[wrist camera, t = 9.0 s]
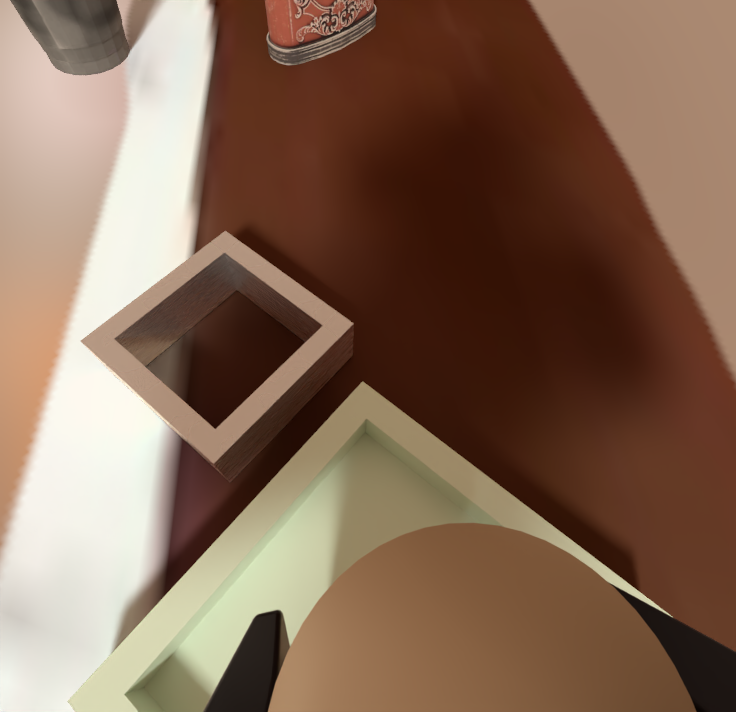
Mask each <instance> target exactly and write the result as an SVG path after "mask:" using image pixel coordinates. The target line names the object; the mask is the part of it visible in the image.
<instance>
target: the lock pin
mask: <svg viewBox="0 0 736 712" xmlns="http://www.w3.org/2000/svg"><path fill="white" fill-rule="evenodd" d="M268 712H696V709H695V707H694V704H693V702H692V699H691V697H690V695H689V693H688V691H687V689H686V687H685V685H684V683H683V681H682V679H681V677H680V675H679V673H678V671H677V669H676V667H675V665H674V664H673V662H672V661H671V659H670V657H669V656H668V654H667V653H666V651H665V650H664V648H663V646H662V645H661V643H660V642H659V640H658V638H657V637H656V635H655V634H654V633H653V632H652V630H651V629H650V628H649V626H648V625H647V624H646V623H645V621H644V620H643V619H642V617H641V616H640V615H639V614H638V612H637V611H636V610H635V609H634V608H633V607H632V606H631V605H630V604H629V602H628V601H627V600H626V599H625V598H624V597H623V596H622V595H621V594H620V593H619V592H618V591H617V590H616V589H615V588H614V587H613V586H612V585H611V584H610V583H608V582H607V581H606V580H605V579H604V578H603V577H601V576H600V575H599V574H598V573H597V572H596V571H594V570H593V569H592V568H590V567H589V566H587V565H586V564H585V563H583V562H582V561H580V560H579V559H577V558H576V557H574V556H573V555H571V554H570V553H568V552H566V551H564V550H563V549H561V548H559V547H557V546H555V545H553V544H551V543H549V542H547V541H545V540H543V539H540V538H538V537H535V536H532V535H530V534H527V533H525V532H522V531H518V530H514V529H510V528H506V527H502V526H498V525H489V524H480V523H449V524H443V525H437V526H431V527H425V528H422V529H419V530H416V531H413V532H410V533H406V534H403V535H401V536H399V537H397V538H395V539H392V540H390V541H388V542H386V543H384V544H382V545H380V546H378V547H377V548H375V549H374V550H372V551H371V552H369V553H368V554H366V555H365V556H363V557H362V558H360V559H359V560H358V561H356V562H355V563H354V564H353V565H352V566H351V567H350V568H348V569H347V570H346V571H345V572H344V573H343V574H342V575H340V576H339V577H338V578H337V579H336V581H335V582H334V583H333V584H332V585H331V586H330V587H329V588H328V590H327V591H326V592H325V593H324V594H323V595H322V596H321V598H320V599H319V600H318V602H317V603H316V604H315V606H314V607H313V609H312V610H311V612H310V613H309V615H308V616H307V618H306V619H305V621H304V622H303V623H302V625H301V627H300V629H299V631H298V633H297V635H296V637H295V639H294V641H293V642H292V644H291V646H290V648H289V650H288V652H287V655H286V657H285V660H284V662H283V665H282V668H281V670H280V673H279V675H278V678H277V680H276V683H275V687H274V690H273V694H272V698H271V701H270V705H269V709H268Z"/></svg>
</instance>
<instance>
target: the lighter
mask: <svg viewBox="0 0 736 712" xmlns="http://www.w3.org/2000/svg"><path fill="white" fill-rule="evenodd" d="M265 5H266V12H267V20H268V28H269V33H268V35H267V43H268V50H269V54H270V57H271V58H272V59H273V60H275V61H276V62H278V63H281V64H285V65H297V64H301V63H304V62H307V61H310V60H314V59H317V58H320V57H323V56H325V55H327V54H330V53H332V52H335V51H337V50H339V49H342V48H344V47H345V46H347V45H349V44H351V43H352V42H354V41H356V40H358V39H359V38H361V37H362V36H364V35H365V34H366V33H368V32H369V31H370V30H372V29H373V28H374V27H375V23H376V6H375V5H374V0H265Z"/></svg>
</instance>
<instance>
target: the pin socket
mask: <svg viewBox="0 0 736 712" xmlns="http://www.w3.org/2000/svg"><path fill="white" fill-rule="evenodd" d="M237 290H238V291H239V292H240V293H241V294H243V295H244V296H245V297H247V298H248V299H249V300H251V301H252V302H253V303H255V304H256V305H257V306H258V307H260V308H261V309H262V310H264V311H265V312H266V313H268V314H269V315H270V316H272V317H273V318H274V319H275V320H277V321H278V322H279V323H281V324H282V325H283V326H285V327H286V328H287V329H289V330H290V331H291V332H292V333H294V334H295V335H296V336H298V337H299V338H300V339H302V340H303V341H304V342H305V343H304V344H303V345H302V346H301V347H300V348H299V349H298V350H297V351H296V352H295V353H294V354H293V355H292V356H291V357H290V358H289V359H288V360H287V361H286V362H285V363H284V364H282V365H281V366H280V367H279V368H278V369H277V370H276V371H275V372H274V373H273V374H272V375H271V376H270V377H269V378H268V379H267V380H266V381H265V382H264V383H263V384H262V385H261V386H260V387H259V388H258V389H257V390H256V391H255V392H253V393H252V394H251V395H250V396H249V397H248V398H247V399H246V400H245V401H244V402H243V403H242V404H241V405H240V406H239V407H238V408H237V409H236V410H235V411H234V412H233V413H232V414H231V415H230V416H229V417H228V418H227V419H225V420H224V421H223V422H222V423H221V424H220V425H219V426H218V427H217V428H216V429H214V428H213V427H212V426H211V425H210V424H209V423H208V422H207V421H205V420H204V419H203V418H202V417H201V416H200V415H199V414H198V413H196V412H195V411H194V410H193V409H192V408H191V407H190V406H189V405H188V404H186V403H185V402H184V401H183V400H182V399H181V398H180V397H179V396H177V395H176V394H175V393H174V392H173V391H172V390H171V389H170V388H168V387H167V386H166V385H165V384H164V383H163V382H162V381H161V380H160V379H158V378H157V377H156V376H155V375H154V374H153V373H152V372H151V371H149V370H148V369H147V368H146V367H145V366H147V365H148V364H149V363H150V362H151V361H153V360H154V359H155V358H156V357H157V356H159V355H160V354H161V353H162V352H163V351H165V350H166V349H167V348H168V347H169V346H171V345H172V344H173V343H174V342H175V341H177V340H178V339H179V338H180V337H181V336H183V335H184V334H185V333H186V332H187V331H189V330H190V329H191V328H192V327H193V326H195V325H196V324H197V323H198V322H199V321H201V320H202V319H203V318H204V317H205V316H207V315H208V314H209V313H210V312H211V311H213V310H214V309H215V308H216V307H217V306H219V305H220V304H221V303H222V302H223V301H225V300H226V299H227V298H228V297H229V296H231V295H232V294H233V293H234V292H235V291H237ZM353 332H354V323H352V322H351V321H349V320H348V319H347V318H345V317H344V316H343V315H341V314H340V313H338V312H337V311H336V310H334V309H333V308H332V307H330V306H329V305H327V304H326V303H325V302H323V301H322V300H320V299H319V298H318V297H316V296H315V295H314V294H312V293H311V292H309V291H308V290H307V289H305V288H304V287H302V286H301V285H300V284H298V283H297V282H296V281H294V280H293V279H291V278H290V277H289V276H287V275H286V274H284V273H283V272H282V271H280V270H279V269H278V268H276V267H275V266H273V265H272V264H271V263H269V262H268V261H267V260H265V259H264V258H262V257H261V256H260V255H258V254H257V253H255V252H254V251H253V250H251V249H250V248H249V247H247V246H246V245H244V244H243V243H242V242H240V241H239V240H237V239H236V238H235V237H233V236H232V235H231V234H229V233H228V232H226V231H225V232H223V233H222V234H221V235H219V236H218V237H217V238H215V239H214V240H213V241H211V242H210V243H209V244H207V245H206V246H205V247H204V248H202V249H201V250H200V251H198V252H197V253H196V254H194V255H193V256H192V257H190V258H189V259H188V260H186V261H185V262H184V263H182V264H181V265H180V266H179V267H177V268H176V269H175V270H173V271H172V272H171V273H169V274H168V275H167V276H165V277H164V278H163V279H161V280H160V281H159V282H157V283H156V284H155V285H154V286H152V287H151V288H150V289H148V290H147V291H146V292H144V293H143V294H142V295H140V296H139V297H138V298H136V299H135V300H134V301H132V302H131V303H130V304H129V305H127V306H126V307H125V308H123V309H122V310H121V311H119V312H118V313H117V314H115V315H114V316H113V317H111V318H110V319H109V320H107V321H106V322H105V323H103V324H102V325H101V326H100V327H98V328H97V329H96V330H94V331H93V332H92V333H90V334H89V335H88V336H86V337H85V338H84V339H82V340H81V342H82V343H83V344H84V345H85V346H86V347H87V348H88V349H89V350H90V351H91V352H92V353H93V354H94V355H95V356H96V357H97V358H98V359H99V361H100V362H101V363H102V364H103V365H104V366H105V367H106V368H107V369H108V370H109V371H110V372H111V373H112V374H113V375H114V376H115V377H117V378H118V379H119V380H120V381H121V382H122V383H123V384H124V385H125V386H126V387H127V388H128V389H130V390H131V391H132V392H133V393H134V394H135V395H136V396H137V397H138V398H139V399H140V400H141V401H142V402H144V403H145V404H146V405H147V406H148V407H149V408H150V409H151V410H152V411H153V412H154V413H155V414H157V415H158V416H159V417H160V418H161V419H162V420H163V421H164V422H165V423H166V424H167V425H168V426H169V427H171V428H172V429H173V430H174V431H175V432H176V433H177V434H178V435H179V436H180V437H181V438H182V439H184V440H185V441H186V442H187V443H188V444H189V445H190V446H191V447H192V448H193V449H194V450H195V451H197V452H198V453H199V454H200V455H201V456H202V457H203V458H204V459H205V460H206V461H207V462H208V463H209V464H211V465H212V466H213V467H214V468H215V469H216V470H217V471H218V472H219V473H220V474H221V475H222V476H224V477H225V478H226V479H227V480H228V481H229V482H230V483H231V482H232V481H233V480H234V479H235V478H236V477H237V476H238V475H239V474H240V473H241V472H242V470H243V469H244V468H245V467H246V466H247V465H248V464H249V463H250V462H251V461H252V460H253V459H254V458H255V457H256V456H257V455H258V454H259V453H260V452H261V451H262V450H263V449H264V448H265V447H266V446H267V444H268V443H269V442H270V441H271V440H272V439H273V438H274V437H275V436H276V435H277V434H278V433H279V432H280V431H281V430H282V429H283V428H284V427H285V426H286V425H287V424H288V423H289V422H290V421H291V420H292V419H293V417H294V416H295V415H296V414H297V413H298V412H299V411H300V410H301V409H302V408H303V407H304V406H305V405H306V404H307V403H308V402H309V401H310V400H311V399H312V398H313V397H314V396H315V395H316V394H317V393H318V391H319V390H320V389H321V388H322V387H323V386H324V385H325V384H326V383H327V382H328V381H329V380H330V379H331V378H332V377H333V376H334V375H335V374H336V373H337V372H338V371H339V370H340V369H341V368H342V367H343V365H344V364H345V363H346V362H347V361H348V360H349V359H350V358H351V357H352V356H353Z"/></svg>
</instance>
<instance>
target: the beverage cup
mask: <svg viewBox="0 0 736 712" xmlns="http://www.w3.org/2000/svg"><path fill="white" fill-rule="evenodd" d="M11 2H12V4H13V5H14V7H15V8H16V10H17V11H18V13H19V14H20V16H21V18H22V19H23V21H24V22H25V24H26V25H27V27H28V29H29V30H30V32H31V33H32V35H33V36H34V37H35V39H36V40H37V41H38V42H39V44H40V45H41V47H42V48H43V50H44V51H45V52H46V53H47V55H48V57H49V59H50V61H51V62H52V64H53V65H54V66H55V68H57V69H59V70H60V71H62V72H64V73H69V74H73V75H91V74H97V73H102V72H105V71H107V70H110V69H113V68H114V67H116V66H117V65H119V64H121V63H122V62H123V61H124V60H125V58H126V57H127V55H128V52H129V47H128V43H127V40H126V38H125V34H124V30H123V26H122V19H121V15H120V11H119V8H118V5H117V1H116V0H11Z"/></svg>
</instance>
